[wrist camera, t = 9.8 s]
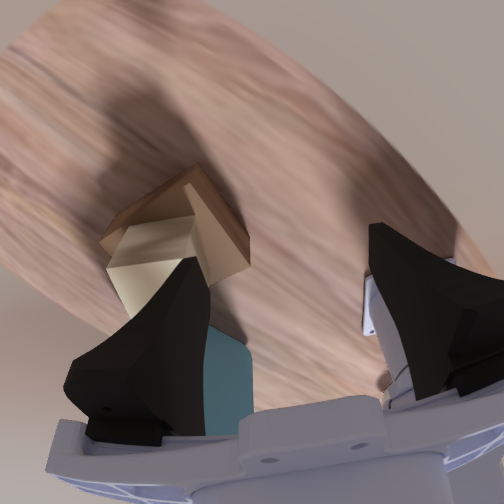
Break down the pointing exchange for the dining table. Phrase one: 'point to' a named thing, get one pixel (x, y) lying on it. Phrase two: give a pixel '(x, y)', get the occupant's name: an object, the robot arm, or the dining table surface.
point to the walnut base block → (187, 204)
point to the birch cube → (153, 258)
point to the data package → (226, 383)
